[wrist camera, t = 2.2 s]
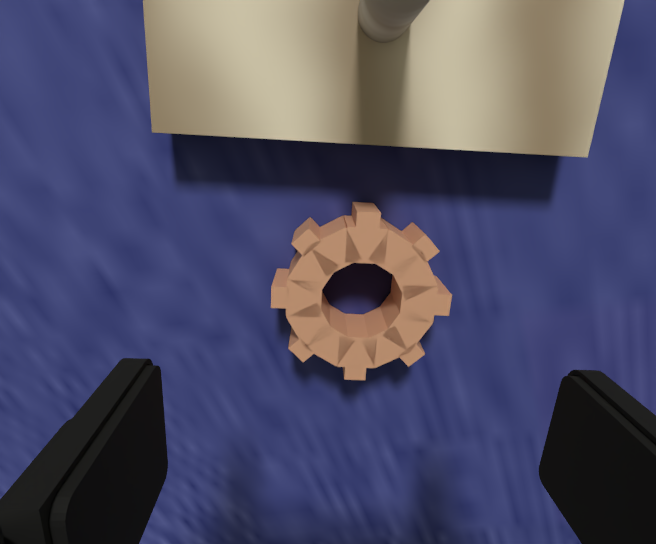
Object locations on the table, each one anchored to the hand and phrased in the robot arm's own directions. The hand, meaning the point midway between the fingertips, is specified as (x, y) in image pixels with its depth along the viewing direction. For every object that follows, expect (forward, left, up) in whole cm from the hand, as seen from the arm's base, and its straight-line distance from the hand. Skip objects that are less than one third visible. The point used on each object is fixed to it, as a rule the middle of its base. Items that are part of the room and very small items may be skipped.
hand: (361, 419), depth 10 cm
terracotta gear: (-1, 0, -10) cm, 10 cm away
